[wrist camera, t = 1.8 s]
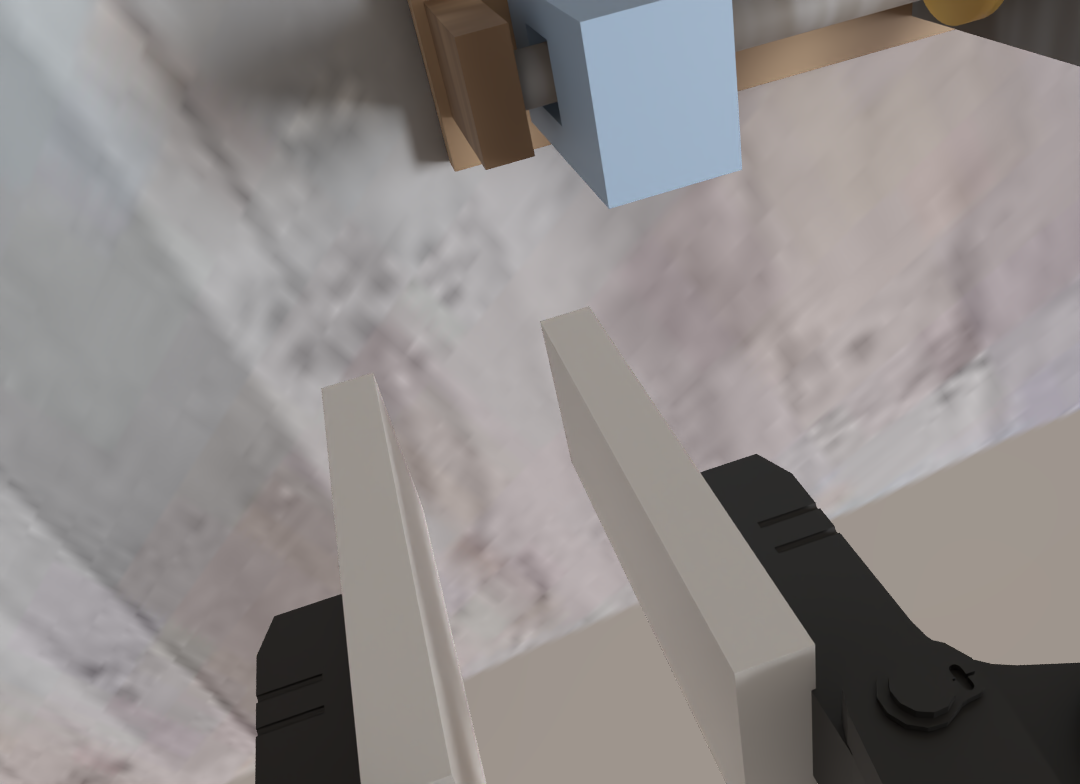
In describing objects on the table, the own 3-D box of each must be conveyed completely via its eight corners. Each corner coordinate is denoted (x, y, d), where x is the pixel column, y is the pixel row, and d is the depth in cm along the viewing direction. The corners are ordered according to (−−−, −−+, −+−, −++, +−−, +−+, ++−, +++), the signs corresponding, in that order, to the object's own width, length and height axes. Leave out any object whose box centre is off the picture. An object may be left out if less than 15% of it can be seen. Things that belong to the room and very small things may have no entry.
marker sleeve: (531, 121, 32) (609, 208, 24) (501, -28, 29) (579, 22, 22) (635, 92, 32) (742, 169, 25) (616, -58, 29) (730, -19, 22)
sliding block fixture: (449, 161, 34) (508, 270, 26) (391, -64, 30) (439, -19, 21) (958, 17, 36) (1162, 75, 28) (977, -213, 32) (1228, -225, 24)
